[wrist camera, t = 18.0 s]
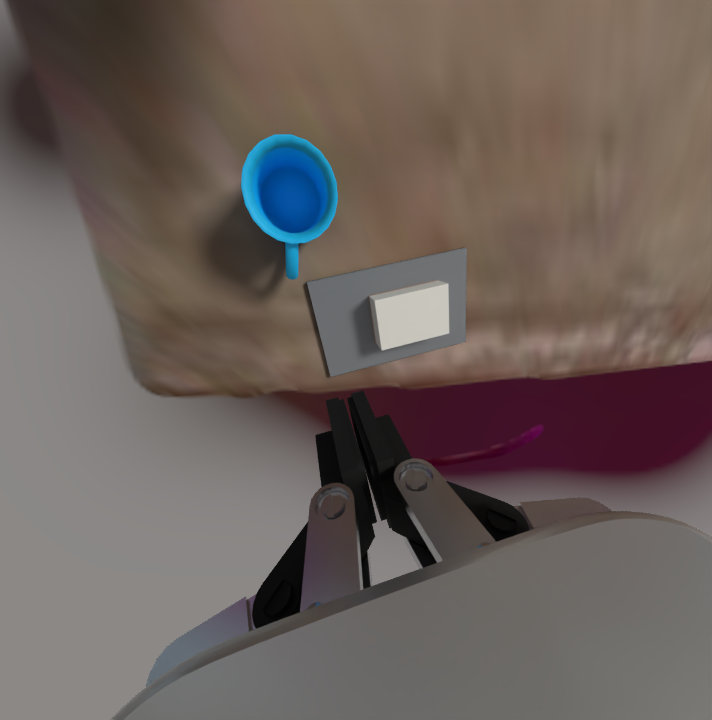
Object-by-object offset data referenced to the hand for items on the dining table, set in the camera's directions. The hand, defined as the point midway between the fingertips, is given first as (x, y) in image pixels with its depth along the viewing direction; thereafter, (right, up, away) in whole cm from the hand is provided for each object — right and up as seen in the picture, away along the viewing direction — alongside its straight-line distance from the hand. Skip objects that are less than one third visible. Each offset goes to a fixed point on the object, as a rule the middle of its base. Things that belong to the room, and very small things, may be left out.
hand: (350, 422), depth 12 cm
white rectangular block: (+3, +8, +25) cm, 26 cm away
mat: (+6, +9, +27) cm, 29 cm away
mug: (-7, +19, +20) cm, 28 cm away
